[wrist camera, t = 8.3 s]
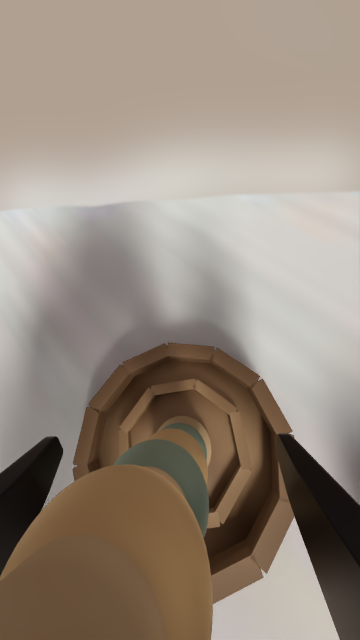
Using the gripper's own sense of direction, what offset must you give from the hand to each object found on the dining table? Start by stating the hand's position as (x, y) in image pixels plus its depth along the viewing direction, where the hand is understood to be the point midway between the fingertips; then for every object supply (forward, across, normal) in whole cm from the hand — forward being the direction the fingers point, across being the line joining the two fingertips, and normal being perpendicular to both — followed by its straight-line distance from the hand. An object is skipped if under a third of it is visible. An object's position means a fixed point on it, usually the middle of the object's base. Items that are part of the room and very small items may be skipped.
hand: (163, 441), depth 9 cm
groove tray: (+5, 0, +7) cm, 9 cm away
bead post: (+4, 0, +6) cm, 8 cm away
